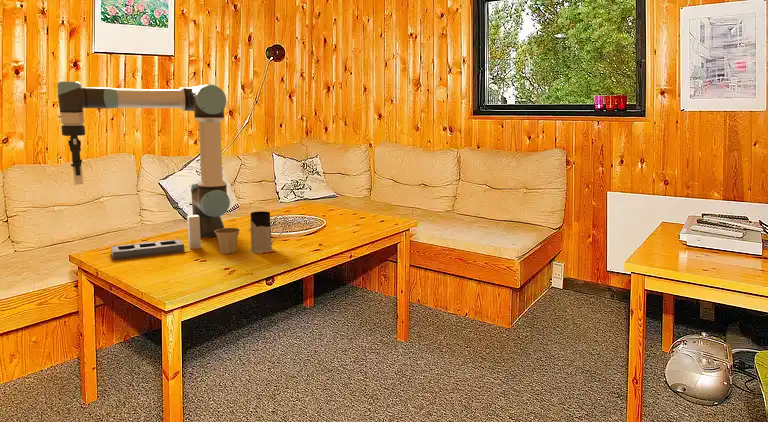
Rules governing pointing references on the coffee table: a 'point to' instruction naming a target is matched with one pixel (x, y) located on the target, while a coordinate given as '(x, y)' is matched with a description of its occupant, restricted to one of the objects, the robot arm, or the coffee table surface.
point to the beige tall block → (194, 231)
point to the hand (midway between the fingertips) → (78, 182)
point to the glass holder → (262, 232)
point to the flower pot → (227, 239)
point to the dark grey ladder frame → (147, 249)
